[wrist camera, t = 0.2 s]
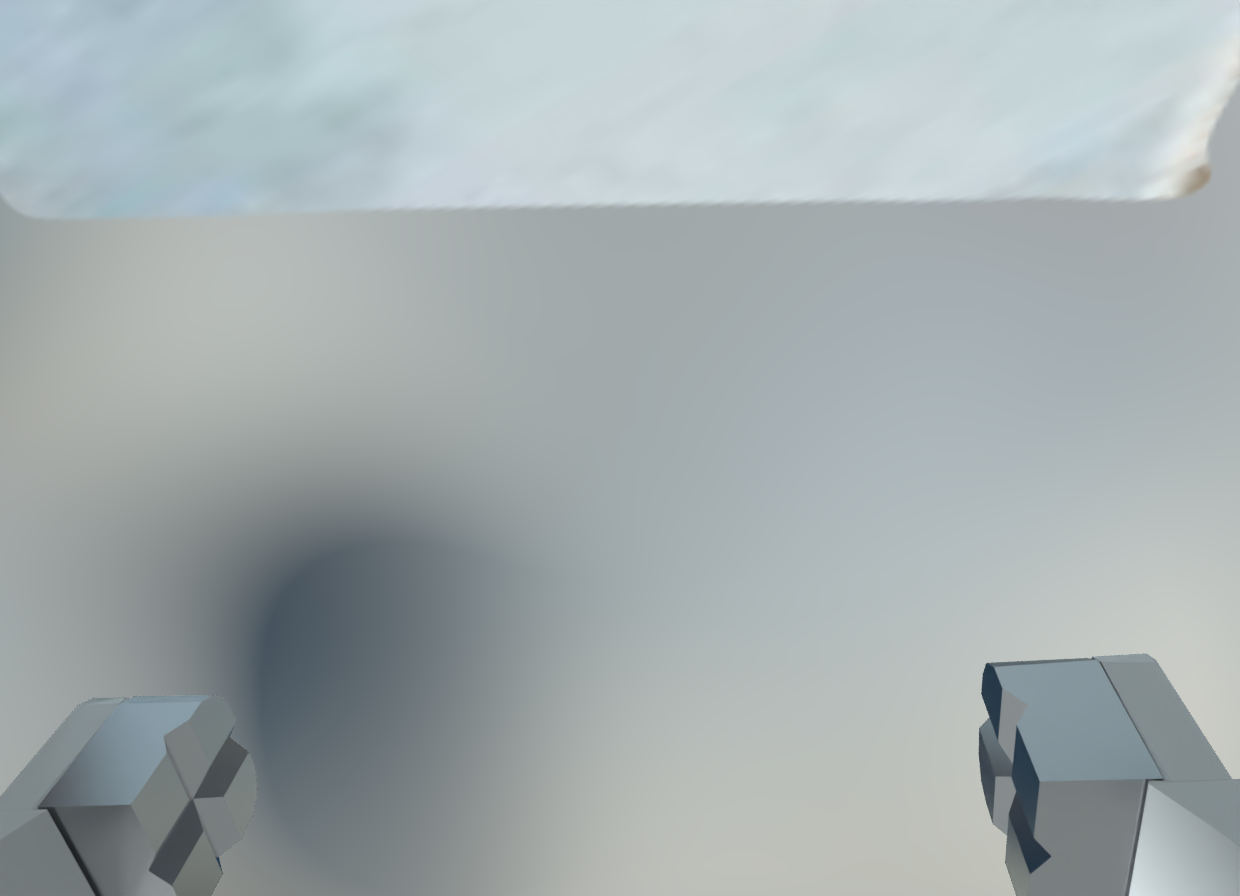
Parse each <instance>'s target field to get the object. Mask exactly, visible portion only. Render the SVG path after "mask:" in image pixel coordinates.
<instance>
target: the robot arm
mask: <svg viewBox="0 0 1240 896" xmlns="http://www.w3.org/2000/svg"><path fill="white" fill-rule="evenodd" d="M982 679H983V680H982V692H981V694H982V697H983V700H984V703H985V706H986V709H987V711H988V714H989V718H988V719H987V721H986V722H985V723H984V724H983V725H982V726H981V727H980V728H979V762H980V772H981V782H982V785H983V790H984V795H985V800H986V804H987V807H988V810H989V813H990V816H991V820H992V823H993V824H994V825H995V826H996V827H997V828H998V829H1000V830H1001V831H1002V832H1003V833H1005V834H1006V835H1007V845H1006V860H1005V863H1006V866H1007V869H1008V872H1009V875H1010V878H1011V881H1012V884H1013V887H1014V890H1015V893H1016V896H1240V779H1232V778H1231V777H1230V775H1229V773H1228V772H1227V770H1226V769H1225V767H1224V766H1223V764H1222V763H1221V761H1220V759H1219V758H1218V756H1217V755H1216V753H1215V752H1214V750H1213V749H1212V747H1211V745H1210V744H1209V742H1208V741H1207V739H1206V737H1205V736H1204V734H1203V733H1202V731H1201V730H1200V728H1199V727H1198V725H1197V723H1196V722H1195V720H1194V719H1193V717H1192V716H1191V714H1190V712H1189V711H1188V709H1187V708H1186V706H1185V705H1184V703H1183V702H1182V700H1181V698H1180V697H1179V695H1178V694H1177V692H1176V691H1175V689H1174V688H1173V686H1172V684H1171V683H1170V682H1169V680H1168V678H1167V677H1166V675H1165V673H1164V672H1163V670H1162V669H1161V667H1160V666H1159V664H1158V663H1157V661H1156V660H1155V659H1154V658H1152V657H1151V656H1149V655H1148V654H1130V655H1114V656H1097V657H1092V658H1091V659H1088V658H1079V659H1059V660H1037V661H1017V662H996V663H986V666H985V669H984V672H983V678H982ZM235 724H236V720H235V718H234V715H233V713H232V711H231V709H230V707H229V705H228V703H227V700H226V699H223V698H220V697H217V696H214V695H193V696H192V695H191V696H134V697H132V698H92V699H90V700H88V701H85V702H84V703H81V704H79V705H78V706H77V707H76V708H75V709H74V710H73V711H72V712H71V714H70V715H69V716H68V717H67V718H66V720H65V721H64V722H63V723H62V724H61V725H60V727H59V728H58V729H57V730H56V731H55V733H54V734H53V735H52V736H51V737H50V738H49V740H48V741H47V742H46V743H45V744H44V746H43V747H42V748H41V749H40V750H39V751H38V753H37V754H36V755H35V756H34V757H33V758H32V760H31V761H30V762H29V763H28V764H27V766H26V767H25V768H24V769H23V770H22V771H21V772H20V774H19V775H18V776H17V777H16V779H15V780H14V781H13V782H12V783H11V784H10V785H9V787H8V788H7V789H6V790H5V792H4V793H3V794H2V795H1V796H0V896H211V895H212V894H213V892H214V890H215V888H216V886H217V884H218V882H219V880H220V878H221V877H222V875H223V872H222V868H221V864H220V860H219V856H220V855H222V854H223V853H224V852H226V851H227V850H228V849H229V848H231V847H232V846H233V845H234V844H236V843H237V842H238V841H239V840H241V839H242V837H243V835H244V833H245V831H246V829H247V827H248V825H249V823H250V821H251V819H252V817H253V812H254V807H255V802H256V796H257V791H258V787H257V778H256V769H255V766H254V764H253V761H252V759H251V756H250V753H249V752H248V751H247V750H246V749H244V748H243V747H242V746H241V745H239V744H238V743H237V742H235V741H234V740H233V739H231V738H230V735H231V733H232V731H233V729H234V727H235Z"/></svg>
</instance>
